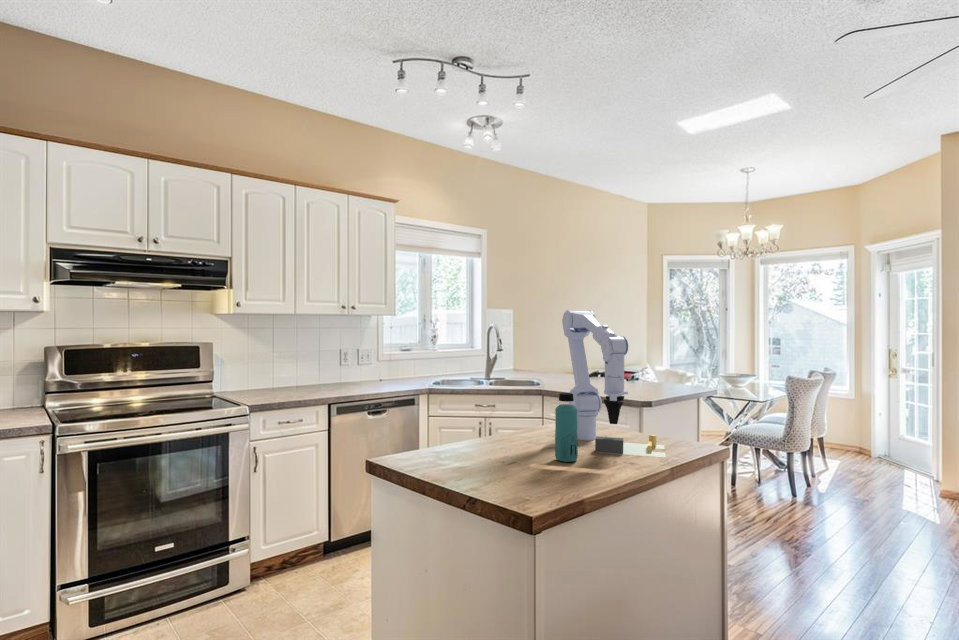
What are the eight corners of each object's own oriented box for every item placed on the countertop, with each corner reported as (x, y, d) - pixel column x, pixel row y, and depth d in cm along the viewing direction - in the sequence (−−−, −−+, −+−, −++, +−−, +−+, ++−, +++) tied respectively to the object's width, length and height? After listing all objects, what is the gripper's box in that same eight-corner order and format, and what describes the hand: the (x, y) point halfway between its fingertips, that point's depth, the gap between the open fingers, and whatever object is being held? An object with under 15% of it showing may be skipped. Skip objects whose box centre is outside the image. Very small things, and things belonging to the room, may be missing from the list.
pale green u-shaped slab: (595, 455, 166) (595, 440, 166) (599, 443, 181) (599, 430, 181) (665, 460, 160) (665, 445, 160) (664, 448, 175) (664, 434, 175)
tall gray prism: (595, 452, 166) (595, 438, 166) (596, 449, 169) (596, 436, 169) (622, 454, 164) (622, 440, 164) (623, 451, 167) (623, 438, 167)
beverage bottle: (571, 468, 152) (571, 395, 152) (550, 464, 156) (550, 393, 156) (582, 463, 157) (582, 392, 157) (561, 459, 161) (561, 390, 161)
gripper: (627, 379, 159) (627, 426, 159) (628, 374, 173) (628, 418, 173) (602, 378, 161) (602, 425, 161) (605, 373, 175) (605, 416, 175)
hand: (614, 421), depth 167 cm, fingers open, 7 cm apart
